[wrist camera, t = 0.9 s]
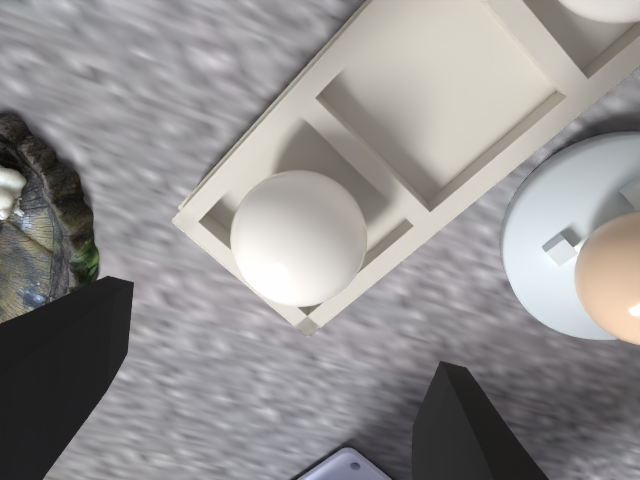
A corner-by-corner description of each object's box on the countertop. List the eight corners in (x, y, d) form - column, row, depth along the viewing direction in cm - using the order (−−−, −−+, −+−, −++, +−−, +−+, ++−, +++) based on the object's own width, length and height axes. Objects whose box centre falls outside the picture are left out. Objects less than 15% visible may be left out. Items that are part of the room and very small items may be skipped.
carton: (746, -62, 16) (816, -72, 13) (318, 301, 23) (310, 340, 20) (607, -265, 14) (657, -322, 12) (192, 191, 21) (167, 218, 19)
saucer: (767, 237, 20) (800, 258, 18) (580, 355, 22) (595, 381, 21) (642, 81, 18) (668, 89, 16) (456, 231, 21) (463, 250, 19)
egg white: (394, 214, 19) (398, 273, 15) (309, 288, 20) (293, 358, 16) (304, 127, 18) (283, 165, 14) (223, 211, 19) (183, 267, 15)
